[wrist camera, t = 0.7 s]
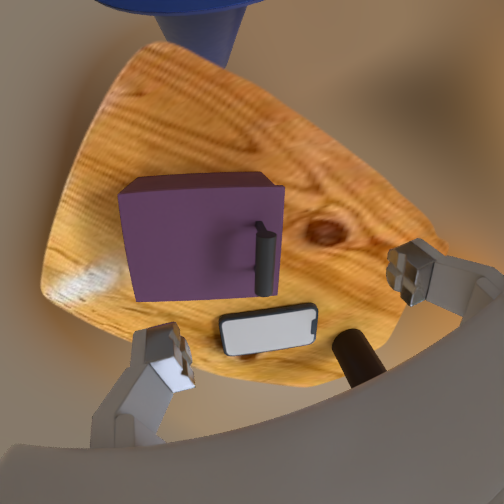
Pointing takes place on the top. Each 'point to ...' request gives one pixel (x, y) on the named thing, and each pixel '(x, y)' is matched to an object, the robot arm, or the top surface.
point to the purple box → (198, 180)
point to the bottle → (356, 357)
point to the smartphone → (268, 329)
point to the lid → (203, 241)
